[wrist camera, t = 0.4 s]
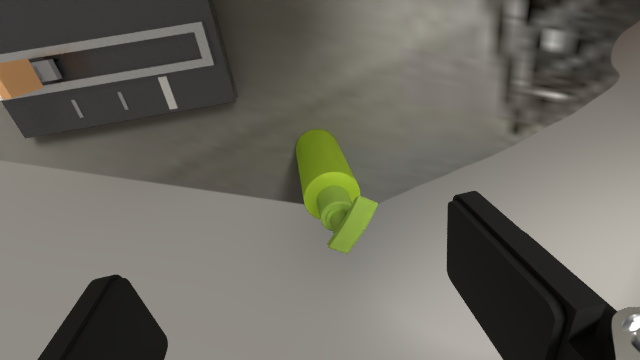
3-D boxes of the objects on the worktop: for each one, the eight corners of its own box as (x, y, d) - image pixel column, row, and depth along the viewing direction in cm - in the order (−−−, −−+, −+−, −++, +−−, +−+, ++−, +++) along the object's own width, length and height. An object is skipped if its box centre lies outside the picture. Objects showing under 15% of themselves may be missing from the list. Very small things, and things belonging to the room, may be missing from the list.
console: (-35, 9, 32) (-68, 9, 28) (204, -28, 33) (196, -32, 30) (39, 131, 38) (18, 141, 35) (237, 96, 39) (234, 103, 36)
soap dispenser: (348, 132, 43) (400, 214, 26) (325, 173, 46) (358, 274, 28) (310, 115, 41) (338, 190, 24) (288, 159, 44) (299, 256, 26)
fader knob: (13, 60, 32) (-44, 70, 26) (50, 54, 32) (1, 63, 26) (30, 88, 33) (-21, 104, 27) (64, 82, 33) (22, 96, 27)
